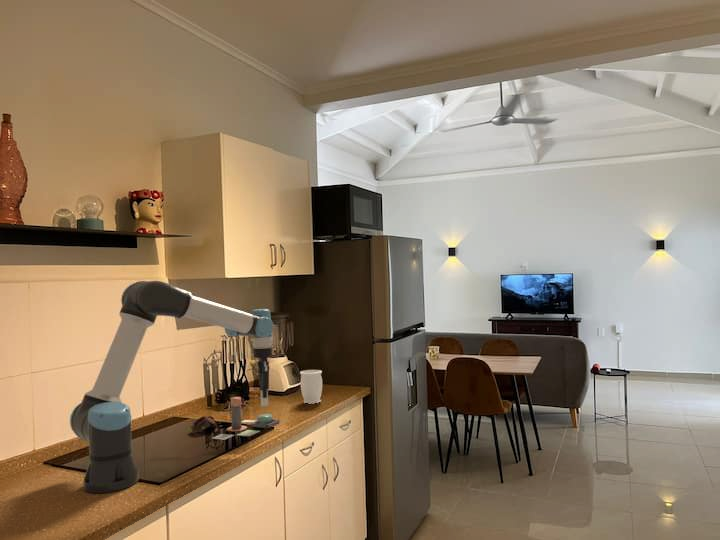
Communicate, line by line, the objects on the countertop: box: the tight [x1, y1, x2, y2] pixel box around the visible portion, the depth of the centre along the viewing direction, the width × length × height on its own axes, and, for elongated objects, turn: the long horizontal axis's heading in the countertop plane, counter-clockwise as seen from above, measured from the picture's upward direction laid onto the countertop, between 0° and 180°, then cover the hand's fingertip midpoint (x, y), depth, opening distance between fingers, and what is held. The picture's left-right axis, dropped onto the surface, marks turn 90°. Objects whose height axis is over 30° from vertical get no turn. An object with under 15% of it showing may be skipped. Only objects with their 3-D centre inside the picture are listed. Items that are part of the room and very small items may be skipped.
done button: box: [256, 413, 274, 424], centre depth 216 cm, size 6×6×2 cm
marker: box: [230, 396, 243, 430], centre depth 212 cm, size 4×4×12 cm
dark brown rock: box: [190, 415, 219, 435], centre depth 211 cm, size 12×10×8 cm
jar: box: [299, 369, 323, 405], centre depth 258 cm, size 11×10×15 cm
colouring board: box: [211, 418, 280, 441], centre depth 209 cm, size 29×18×3 cm, turn 156°
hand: (264, 405), depth 216 cm, fingers closed
